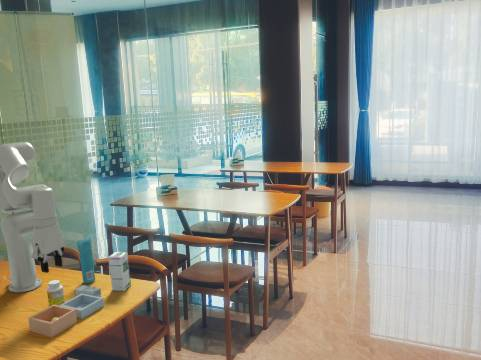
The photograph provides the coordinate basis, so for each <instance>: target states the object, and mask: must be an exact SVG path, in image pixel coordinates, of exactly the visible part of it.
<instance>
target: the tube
mask: <svg viewBox="0 0 481 360" xmlns="http://www.w3.org/2000/svg"><path fill="white" fill-rule="evenodd" d="M76 244H77V250H78V257H79V262H80V268H81V269H80V270H81V275H82V276H81V277H82V282H83V284H90V283H91V284H92V283H94V282H95V281H96V274H95V265H94V259H93V257H94V256H93V255H94V254H93V246H92V236H91V235H89V236H86V237H84V238H81V239H79V240H77V241H76Z"/></svg>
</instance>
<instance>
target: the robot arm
mask: <svg viewBox="0 0 481 360" xmlns="http://www.w3.org/2000/svg"><path fill="white" fill-rule="evenodd" d="M35 159H36V151H35V148H34V146H33V145H32V144H31V143H30V142H27V141H21V142H12V143H10V142H9V143H4V144H1V145H0V212H2V213H5V214H8V213H9V214H8V215H6V216H4V217H3V218H1V221H0V228H1V232H2V235H3V238H4V241H5V245H6V251H7V258H8V264H9V271H10V276H9V277H7V281H10V283H11V284H9V285H8V291H9V292H11V293H25V292H26V293H27V292H30V291H32V290H35V289H37V288H39V287H40V286H42V283H43V282H42V280H41V278H39V277H37V269H36V268H37V267H36V261H37V262H38V263H40V270H41V272H42V273H47V274H48V273H49V272H50V268H49V262H48V261H47V259H48V254H51V253H53V252H54V255H53V258H54V266H56V267H60V268H62V267H63V258H62V256H63V254H64V253H63V252H64V250H65V248H66V247H67V245H68V244H67V242H66V240H64V239H63V233H62V229H61V226H60V224H59V222H58V219H59V215H58V214H57V209H56V202H55V195H54V194H55V193H54V190H53V189H52V188H51V187H48V186H47V185H45V184H43V183H41V184H40V183H39V184H33V185H27V186H22V187H21V186H20V187H16V185H18V184H19V183H20V182H22V181H23V180H25V179H27V178H28V176H29V174H30V171H31V168H30V166H29V164H30V163H32V162H34V161H35ZM1 169H2V170H1ZM24 210H26V211H24ZM19 211H20V212H19ZM10 213H11V214H10ZM30 234H32V242H31V241H30V240H29V239H27V238H26V237H25V236H28V235H30ZM35 260H36V261H35Z"/></svg>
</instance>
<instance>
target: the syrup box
mask: <svg viewBox="0 0 481 360" xmlns="http://www.w3.org/2000/svg"><path fill="white" fill-rule="evenodd" d="M128 256H129V255H128V252H127V251H114V252H113V253H112V254H110V255H109V256H108V258H107V259H108V265H109V267H108V268H109V274H110V280H111V281H110V283H111V289H112V291H119V292H120V291H121V292H124V291H126V290H127V289H128V288H129V287H130V286H132V282H131V281H132V280H131V274H130V273H131V271H130V266H129V265H130V264H129V257H128Z"/></svg>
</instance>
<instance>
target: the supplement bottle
mask: <svg viewBox="0 0 481 360" xmlns="http://www.w3.org/2000/svg"><path fill="white" fill-rule="evenodd" d="M47 284H48V287H46V294H47V300H48V306H49V307H50V306H52V305H58V306H60V305H62V304H63V303H65V302H66V301H65V294H64V286H63V285H62V284H61V282H60V280H58V279H55V280H51V281H48V283H47Z"/></svg>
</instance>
